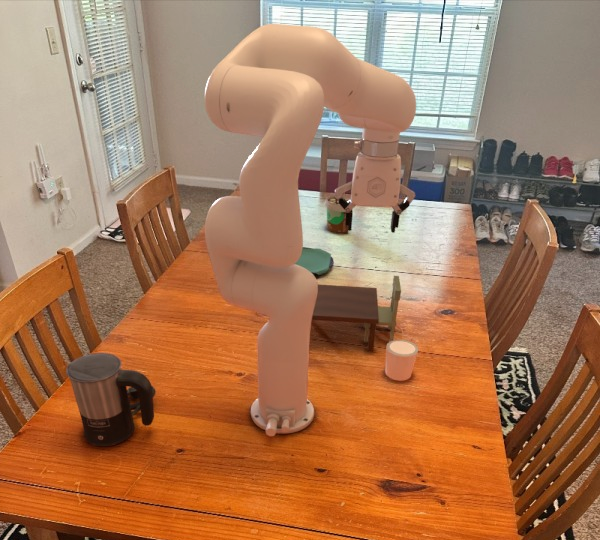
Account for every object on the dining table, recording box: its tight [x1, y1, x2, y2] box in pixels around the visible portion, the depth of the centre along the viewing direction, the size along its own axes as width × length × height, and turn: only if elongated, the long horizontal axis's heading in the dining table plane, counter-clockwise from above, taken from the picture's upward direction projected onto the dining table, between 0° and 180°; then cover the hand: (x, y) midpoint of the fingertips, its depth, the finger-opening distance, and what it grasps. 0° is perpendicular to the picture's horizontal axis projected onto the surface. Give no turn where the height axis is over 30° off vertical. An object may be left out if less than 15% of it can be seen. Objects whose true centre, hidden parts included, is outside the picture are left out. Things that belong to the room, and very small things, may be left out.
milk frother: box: [65, 352, 156, 447], centre depth 106 cm, size 14×16×15 cm
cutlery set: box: [295, 246, 335, 276], centre depth 170 cm, size 20×30×2 cm, turn 83°
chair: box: [363, 275, 402, 344], centre depth 134 cm, size 8×7×14 cm
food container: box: [324, 194, 349, 235], centre depth 191 cm, size 12×6×10 cm, turn 25°
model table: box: [312, 283, 379, 352], centre depth 136 cm, size 16×18×9 cm
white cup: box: [384, 339, 419, 382], centre depth 123 cm, size 7×7×7 cm
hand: (370, 229), depth 126 cm, fingers open, 9 cm apart
